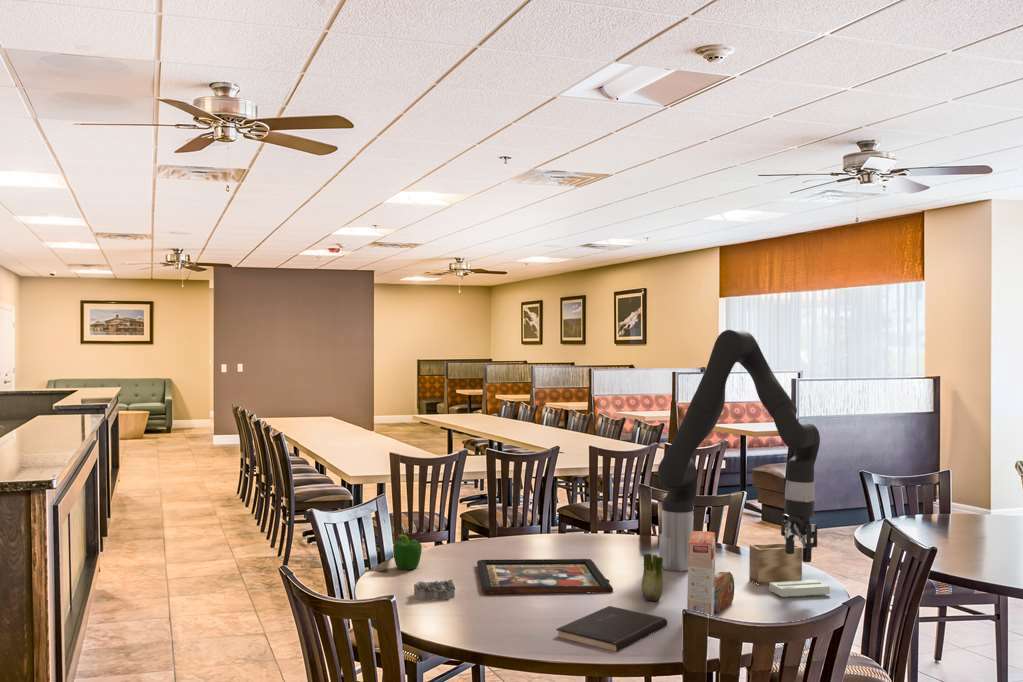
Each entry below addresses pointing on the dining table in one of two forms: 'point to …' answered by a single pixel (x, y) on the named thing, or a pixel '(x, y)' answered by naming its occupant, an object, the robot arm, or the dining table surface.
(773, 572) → the oak box
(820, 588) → the lid
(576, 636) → the hardcover book
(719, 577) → the tin
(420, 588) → the egg carton
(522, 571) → the framed icon painting
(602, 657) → the dining table surface
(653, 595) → the fennel bulb
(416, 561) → the bell pepper
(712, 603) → the cracker box
